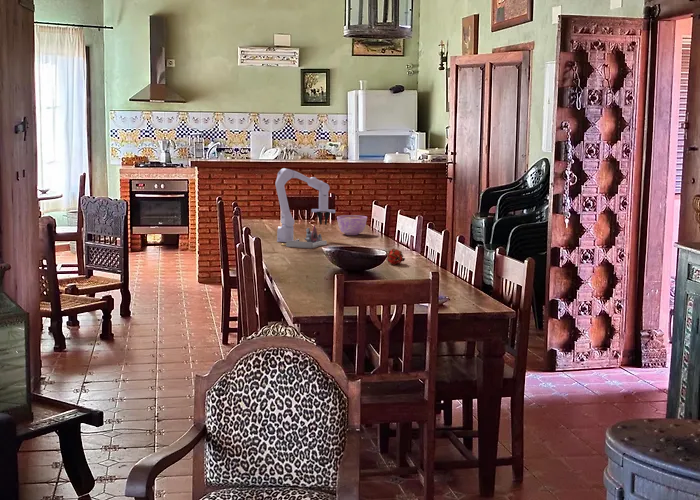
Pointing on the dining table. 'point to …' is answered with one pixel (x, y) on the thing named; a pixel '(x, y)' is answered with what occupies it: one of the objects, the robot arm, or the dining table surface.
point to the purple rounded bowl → (351, 224)
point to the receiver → (304, 244)
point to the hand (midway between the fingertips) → (323, 224)
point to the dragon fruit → (395, 257)
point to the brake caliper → (312, 235)
